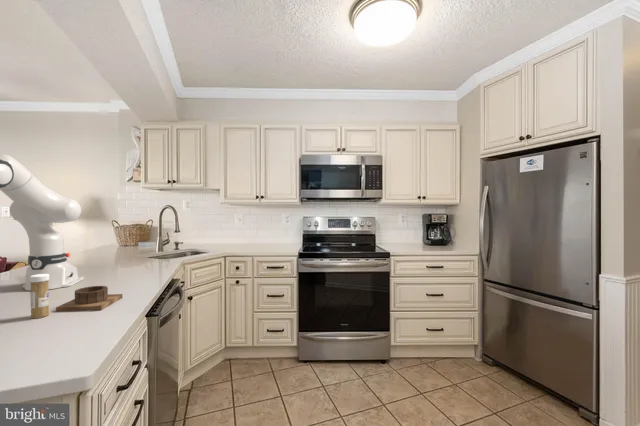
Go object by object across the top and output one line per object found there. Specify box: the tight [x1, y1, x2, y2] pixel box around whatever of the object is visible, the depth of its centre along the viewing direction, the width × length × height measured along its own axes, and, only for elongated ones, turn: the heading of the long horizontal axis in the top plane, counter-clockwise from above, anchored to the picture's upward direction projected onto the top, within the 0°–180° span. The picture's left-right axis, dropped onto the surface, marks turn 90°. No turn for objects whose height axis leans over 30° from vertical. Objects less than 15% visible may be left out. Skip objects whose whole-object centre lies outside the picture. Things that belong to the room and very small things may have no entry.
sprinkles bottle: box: [29, 274, 50, 319], centre depth 97 cm, size 5×5×14 cm
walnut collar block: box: [55, 285, 123, 313], centre depth 109 cm, size 14×14×6 cm
